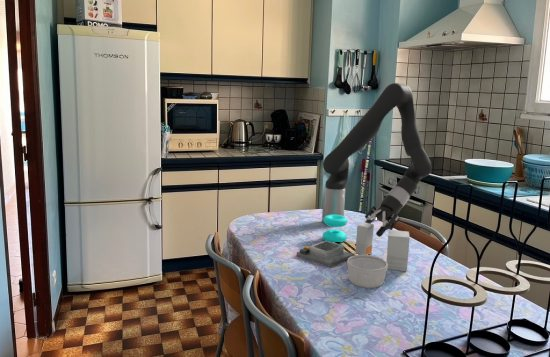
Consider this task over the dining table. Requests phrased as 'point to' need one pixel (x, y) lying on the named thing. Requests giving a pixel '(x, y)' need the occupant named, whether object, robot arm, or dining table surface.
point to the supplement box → (398, 250)
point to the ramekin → (366, 270)
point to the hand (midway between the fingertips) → (370, 232)
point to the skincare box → (364, 238)
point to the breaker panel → (325, 253)
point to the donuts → (335, 222)
